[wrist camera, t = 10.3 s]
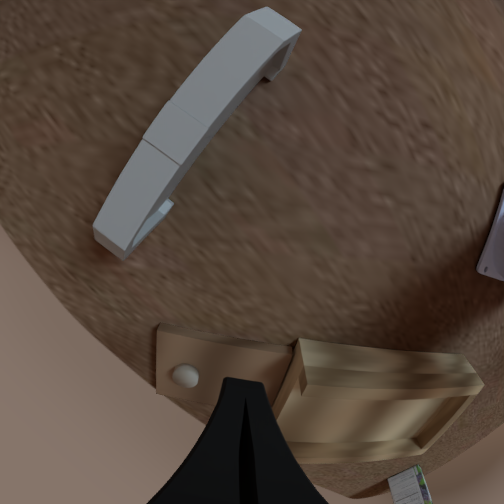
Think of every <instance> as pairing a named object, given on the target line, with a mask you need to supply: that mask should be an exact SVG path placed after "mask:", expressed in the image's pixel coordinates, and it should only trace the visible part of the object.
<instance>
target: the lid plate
mask: <svg viewBox="0 0 504 504" xmlns="http://www.w3.org/2000/svg"><path fill="white" fill-rule="evenodd" d="M292 356H293V353H292V347H291V346H284V345H277V344H270V343H264V342H257V341H251V340H245V339H239V338H234V337H228V336H223V335H217V334H212V333H207V332H202V331H197V330H192V329H188V328H183V327H178V326H174V325H169V324H165V323H161V322H160V324H159V327H158V329H157V346H156V394H160V395H164V396H169V397H173V398H177V399H182V400H187V401H192V402H197V403H202V404H208V405H213V406H216V404H217V401H218V397H219V393H220V390H221V386H222V382H223V378H225V377H233V378H238V379H244V380H250V381H257V382H262V383H263V384H264V387H265V390H266V394H267V397H268V400H269V403H270V406H272V404H273V402H274V400H275V397H276V395H277V392H278V390H279V388H280V385H281V383H282V380H283V378H284V376H285V373H286V371H287V368H288V366H289V363H290V361H291V358H292Z"/></svg>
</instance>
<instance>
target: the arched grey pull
mask: <svg viewBox="0 0 504 504" xmlns="http://www.w3.org/2000/svg"><path fill="white" fill-rule="evenodd" d="M301 31H302V30H301V29H300V28H299V27H297V26H296V25H294V24H293V23H291V22H290V21H289V20H287V19H286V18H284V17H283V16H281V15H280V14H278V13H276V12H275V11H273V10H272V9H270V8H269V7H264V8H262V9H259V10H256V11H254V12H251V13H249V14H246V15H244V16H243V17H242V18H241V19H240V20H239V21H238V22H237V23H236V24H235V25H234V26H233V27H232V28H231V29H230V30H229V31H228V32H227V33H226V34H225V35H224V36H223V37H222V38H221V40H220V41H219V42H218V43H217V44H216V45H215V46H214V47H213V48H212V49H211V51H210V52H209V53H208V54H207V55H206V56H205V57H204V59H203V60H202V61H201V62H200V63H199V64H198V66H197V67H196V68H195V69H194V70H193V72H192V73H191V74H190V75H189V76H188V78H187V79H186V80H185V81H184V83H183V84H182V85H181V86H180V88H179V89H178V90H177V92H176V93H175V94H174V96H173V97H172V98H171V99H170V101H167V103H166V104H165V106H164V107H163V108H162V110H161V111H160V112H159V114H158V115H157V117H156V118H155V119H154V121H153V122H152V124H151V125H150V127H149V128H148V130H147V131H146V133H145V134H144V135H143V139H142V141H141V142H140V144H139V145H138V147H137V148H136V150H135V151H134V153H133V155H132V156H131V158H130V159H129V161H128V163H127V164H126V166H125V168H124V169H123V171H122V173H121V174H120V176H119V178H118V179H117V181H116V183H115V184H114V186H113V188H112V190H111V192H110V193H109V195H108V197H107V199H106V201H105V202H104V204H103V206H102V208H101V210H100V212H99V214H98V216H97V218H96V220H95V221H94V223H93V231H94V237H95V240H96V241H97V242H99V243H100V244H101V245H103V246H104V247H105V248H106V249H108V250H109V251H110V252H112V253H113V254H114V255H116V256H117V257H118V258H120V259H121V260H122V261H124V260H125V259H126V258H127V257H128V256H129V255H130V254H131V252H132V251H133V250H134V249H135V248H136V247H137V246H138V245H139V244H140V243H141V242H142V241H143V240H144V239H145V238H146V237H147V236H148V235H149V234H150V233H151V232H152V230H153V229H154V228H155V227H156V226H157V225H158V224H159V223H160V222H161V221H162V220H163V219H164V218H165V216H166V215H167V214H168V212H169V211H170V209H171V208H172V206H173V205H174V203H173V202H172V201H171V200H169V199H168V198H169V196H170V195H171V193H172V192H173V190H174V189H175V188H176V186H177V185H178V183H179V182H180V181H181V179H182V178H183V176H184V175H185V174H186V172H187V171H188V169H189V168H190V167H191V165H192V164H193V163H194V161H195V160H196V159H197V157H198V156H199V155H200V153H201V152H202V151H203V149H204V148H205V147H206V145H207V144H208V143H209V141H210V140H211V139H212V138H213V136H214V135H215V134H216V133H217V131H218V130H219V129H220V127H221V126H222V125H223V124H224V122H225V121H226V120H227V119H228V118H229V116H230V115H231V114H232V113H233V111H234V110H235V109H236V108H237V107H238V105H239V104H240V103H241V102H242V101H243V100H244V98H245V97H246V96H247V95H248V94H249V93H250V91H251V90H252V89H253V88H254V87H255V86H256V85H257V83H258V82H259V81H260V80H261V79H262V78H263V77H264V76H265V77H266V78H267V79H269V80H270V81H272V80H273V79H274V78H275V76H276V75H277V74H278V73H279V72H280V71H281V70H282V69H283V68H284V67H285V65H286V63H287V60H288V58H289V56H290V54H291V52H292V50H293V48H294V45H295V43H296V41H297V39H298V37H299V35H300V33H301Z"/></svg>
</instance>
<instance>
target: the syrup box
mask: <svg viewBox="0 0 504 504" xmlns="http://www.w3.org/2000/svg"><path fill="white" fill-rule="evenodd" d="M387 480H388V483H389V488H390V492H391V495H392V499H393V503H394V504H433V503H432V500H431V497H430V494H429V491H428V488H427V485H426V482H425V479H424V476H423V473H422V471H421V468H420V466H419V465H415V466H413V467H411V468H409V469H407V470H405V471H403V472H401V473H399V474H397V475H395V476H392V477H390V478H388V479H387Z"/></svg>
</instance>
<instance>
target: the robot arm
mask: <svg viewBox="0 0 504 504" xmlns="http://www.w3.org/2000/svg"><path fill="white" fill-rule="evenodd" d="M476 270H477V272H478V273H480V274H483V275H486V276H489V277H492V278H495V279H498V280H501V281H504V189H503V193H502V196H501V200H500V203H499V207H498V210H497V213H496V216H495V219H494V222H493V225H492V228H491V231H490V234H489V236H488V239H487V242H486V244H485V247H484V250H483V252H482V255H481V257H480V260H479V262H478V264H477V267H476ZM147 504H328V502H327V501H326V500H325V499H324V498H323V497H322V496H321V495H320V493H319V492H318V491H317V490H316V489H315V487H314V486H313V484H312V483H311V482H310V480H309V479H308V477H307V476H306V475H305V473H304V472H303V470H302V469H301V467H300V465H299V464H298V462H297V461H296V459H295V457H294V455H293V454H292V452H291V450H290V448H289V446H288V444H287V442H286V440H285V438H284V436H283V434H282V432H281V430H280V428H279V425H278V423H277V421H276V418H275V416H274V413H273V411H272V408H271V406H270V403H269V400H268V397H267V394H266V390H265V387H264V384H263V383H262V382H257V381H250V380H244V379H238V378H233V377H225V378H223V382H222V386H221V390H220V393H219V397H218V401H217V404H216V406H215V409H214V411H213V413H212V415H211V417H210V419H209V421H208V423H207V425H206V427H205V429H204V431H203V432H202V434H201V435H200V437H199V439H198V441H197V442H196V444H195V445H194V447H193V448H192V450H191V451H190V453H189V454H188V456H187V457H186V459H185V460H184V461H183V463H182V464H181V465H180V467H179V468H178V469H177V470H176V472H175V473H174V474H173V475H172V477H171V478H170V479H169V480H168V481H167V483H166V484H165V485H164V486H163V487H162V488H161V489H160V490H159V491H158V493H156V495H154V496H153V497H152V499H151V500H150V501H149V502H148V503H147Z"/></svg>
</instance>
